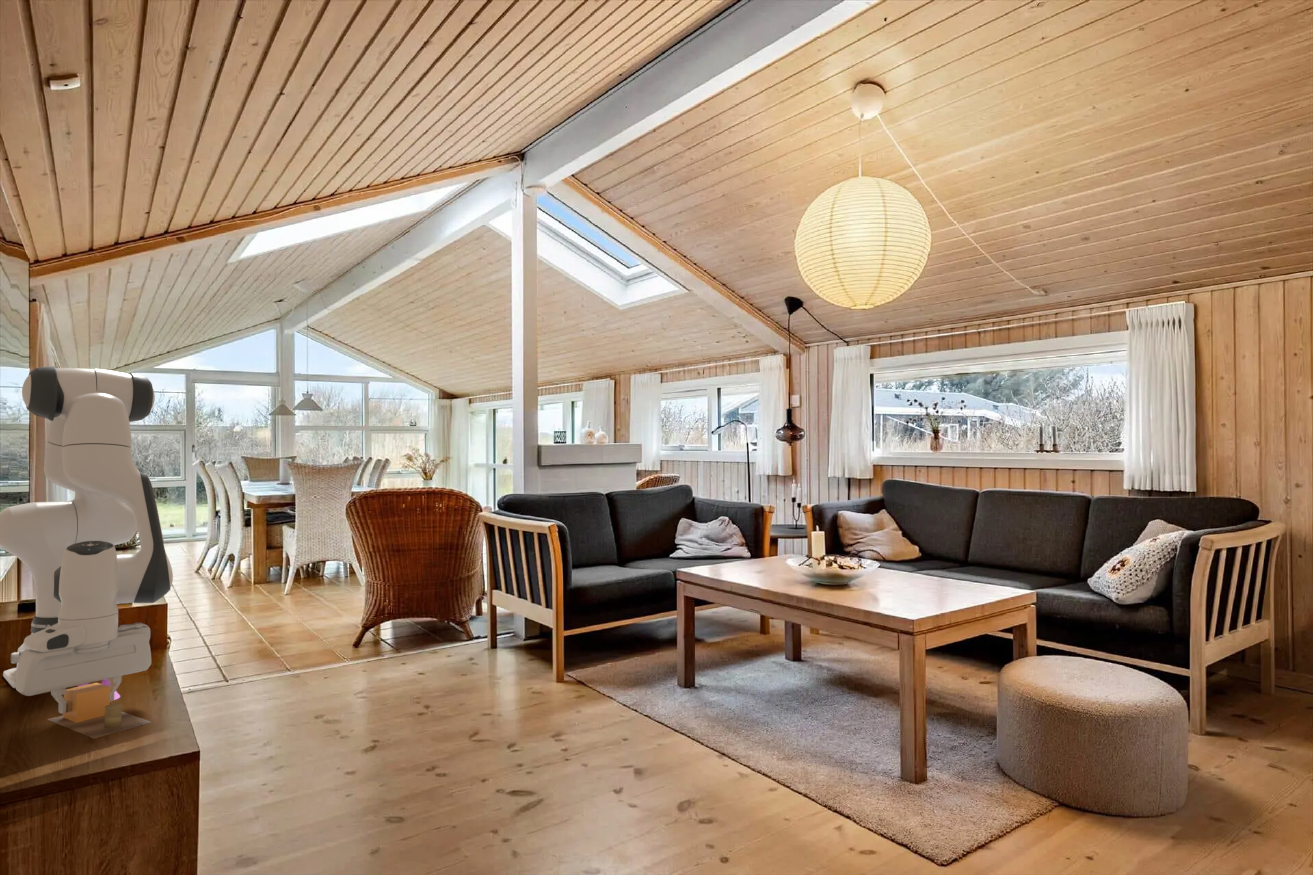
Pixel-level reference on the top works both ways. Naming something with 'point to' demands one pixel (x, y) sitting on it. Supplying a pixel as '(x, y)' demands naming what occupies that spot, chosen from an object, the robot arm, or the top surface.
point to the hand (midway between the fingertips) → (86, 707)
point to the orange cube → (87, 701)
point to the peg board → (103, 722)
